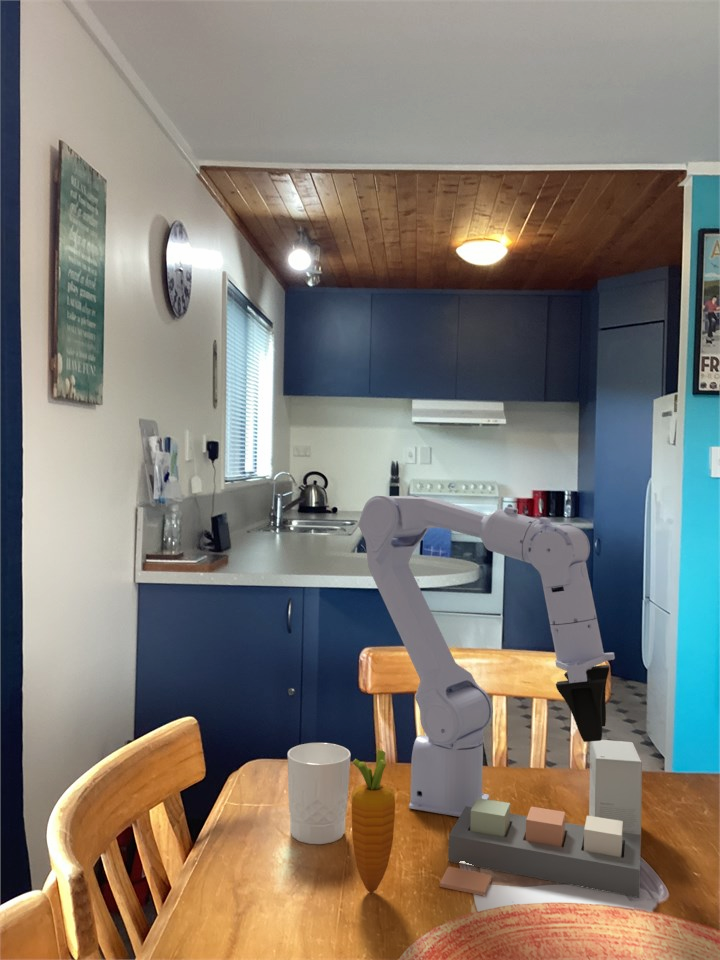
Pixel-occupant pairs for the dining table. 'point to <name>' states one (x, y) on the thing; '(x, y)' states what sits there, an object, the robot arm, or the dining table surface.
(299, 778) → the white cup
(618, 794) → the small box
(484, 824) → the key sage
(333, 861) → the dining table surface
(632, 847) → the keypad
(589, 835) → the key cream
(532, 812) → the key terracotta
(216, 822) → the dining table surface
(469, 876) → the tile
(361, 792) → the carrot
